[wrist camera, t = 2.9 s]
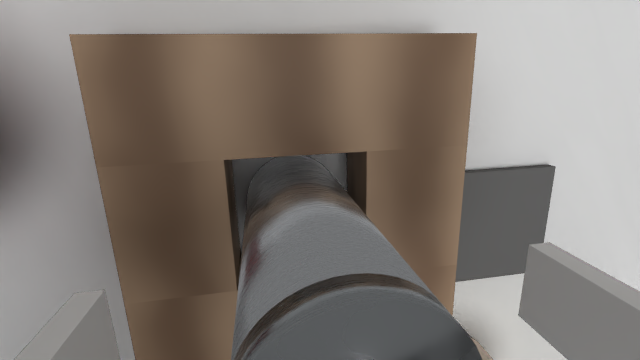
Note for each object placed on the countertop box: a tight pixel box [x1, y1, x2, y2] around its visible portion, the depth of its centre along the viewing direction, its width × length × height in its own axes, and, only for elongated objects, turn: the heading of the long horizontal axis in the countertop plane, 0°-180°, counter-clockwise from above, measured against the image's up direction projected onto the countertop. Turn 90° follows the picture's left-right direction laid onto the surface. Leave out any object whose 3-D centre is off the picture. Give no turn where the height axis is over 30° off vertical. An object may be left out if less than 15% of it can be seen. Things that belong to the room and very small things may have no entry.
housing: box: [69, 33, 477, 360], centre depth 19 cm, size 18×18×4 cm
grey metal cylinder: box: [231, 155, 482, 360], centre depth 14 cm, size 6×6×15 cm
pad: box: [455, 165, 555, 282], centre depth 24 cm, size 8×8×1 cm
